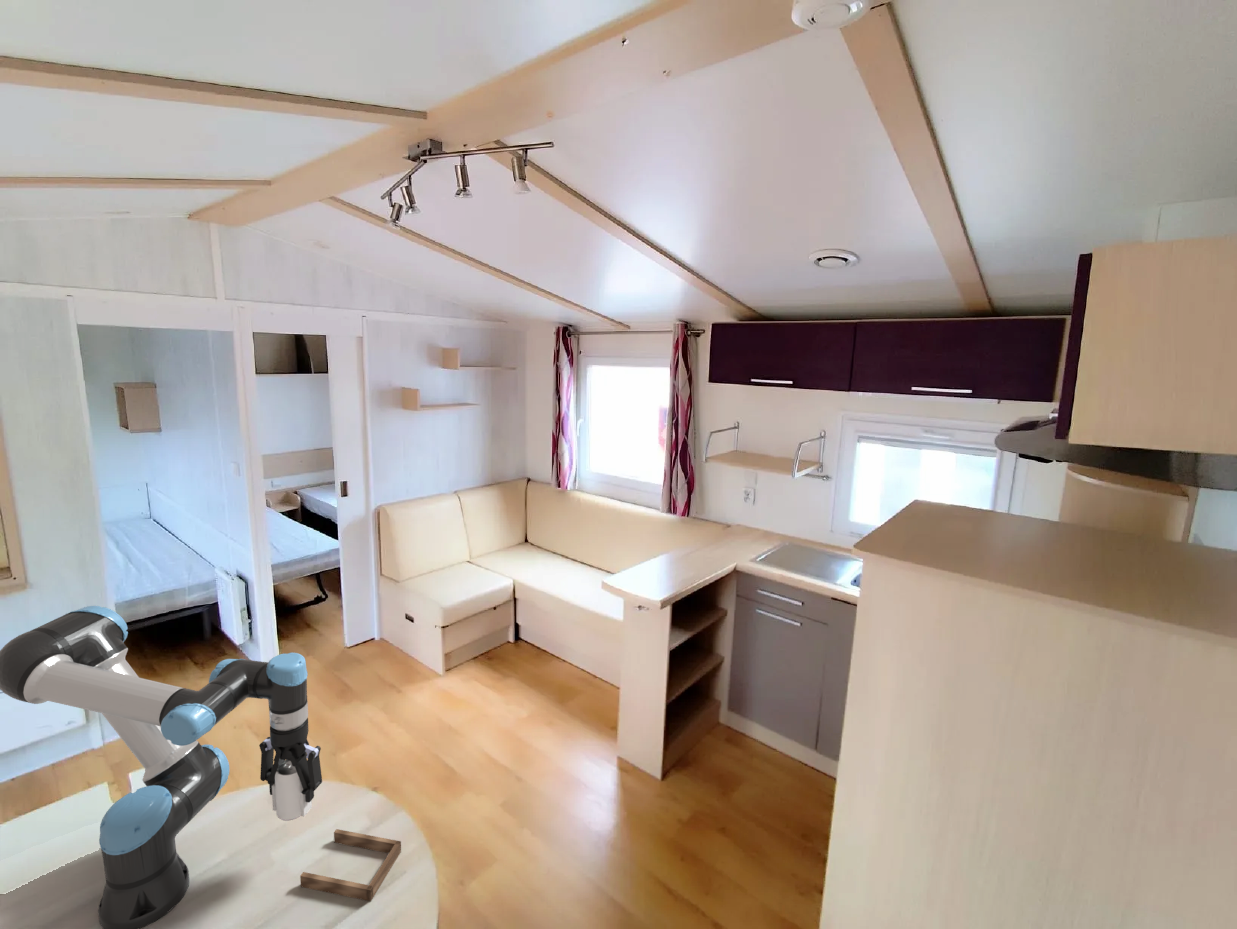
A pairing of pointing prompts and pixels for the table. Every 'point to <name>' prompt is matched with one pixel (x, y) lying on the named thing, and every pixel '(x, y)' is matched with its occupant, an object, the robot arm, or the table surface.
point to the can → (287, 792)
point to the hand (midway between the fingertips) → (292, 808)
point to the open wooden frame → (351, 887)
